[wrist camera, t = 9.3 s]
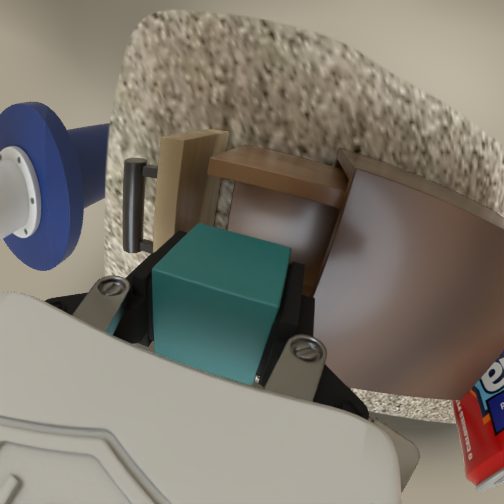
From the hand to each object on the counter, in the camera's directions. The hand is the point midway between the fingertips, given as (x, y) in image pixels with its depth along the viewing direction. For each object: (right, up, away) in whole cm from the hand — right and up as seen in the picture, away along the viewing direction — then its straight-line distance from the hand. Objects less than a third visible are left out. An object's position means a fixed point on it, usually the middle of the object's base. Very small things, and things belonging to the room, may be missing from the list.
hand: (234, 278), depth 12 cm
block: (0, 0, 0) cm, 0 cm away
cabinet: (+12, +1, +7) cm, 14 cm away
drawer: (+1, +4, +7) cm, 8 cm away
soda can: (+23, -8, +9) cm, 26 cm away
